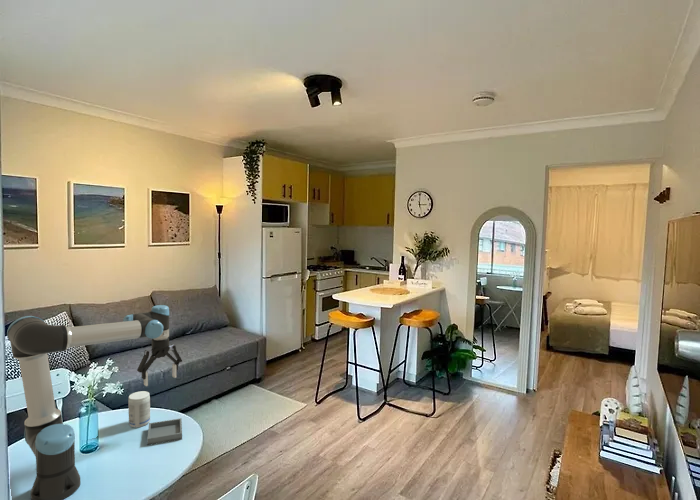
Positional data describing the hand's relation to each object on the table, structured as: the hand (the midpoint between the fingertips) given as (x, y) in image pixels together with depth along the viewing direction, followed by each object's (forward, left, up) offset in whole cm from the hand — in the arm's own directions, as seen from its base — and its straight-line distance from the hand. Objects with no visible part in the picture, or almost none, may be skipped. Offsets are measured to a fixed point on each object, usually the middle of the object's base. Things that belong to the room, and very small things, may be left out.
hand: (160, 381), depth 191 cm
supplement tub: (-10, +12, -26) cm, 30 cm away
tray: (+2, -3, -25) cm, 26 cm away
